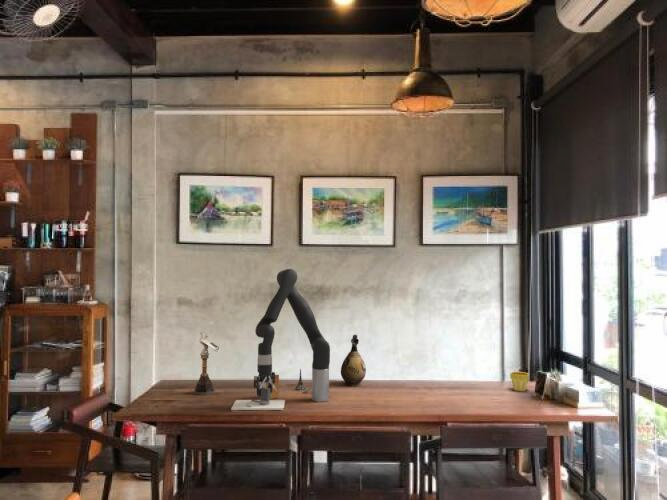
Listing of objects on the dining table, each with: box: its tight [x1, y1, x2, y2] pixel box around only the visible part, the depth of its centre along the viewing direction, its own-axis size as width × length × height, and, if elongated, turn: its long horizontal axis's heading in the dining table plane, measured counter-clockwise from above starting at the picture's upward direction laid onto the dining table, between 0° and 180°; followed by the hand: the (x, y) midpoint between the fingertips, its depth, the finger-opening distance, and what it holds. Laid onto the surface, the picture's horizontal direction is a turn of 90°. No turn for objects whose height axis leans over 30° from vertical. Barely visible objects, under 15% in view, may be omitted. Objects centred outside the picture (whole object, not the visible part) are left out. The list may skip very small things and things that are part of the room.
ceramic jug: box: [340, 334, 367, 387], centre depth 342 cm, size 17×15×30 cm
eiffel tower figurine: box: [294, 367, 312, 394], centre depth 327 cm, size 15×10×13 cm
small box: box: [262, 372, 280, 400], centre depth 309 cm, size 8×6×13 cm
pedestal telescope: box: [193, 332, 220, 396], centre depth 320 cm, size 17×13×35 cm
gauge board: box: [230, 399, 286, 411], centre depth 290 cm, size 26×16×2 cm, turn 91°
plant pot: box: [509, 371, 530, 392], centre depth 328 cm, size 10×10×10 cm
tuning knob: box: [251, 387, 271, 405], centre depth 291 cm, size 12×5×8 cm, turn 56°
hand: (264, 394), depth 290 cm, fingers open, 8 cm apart
